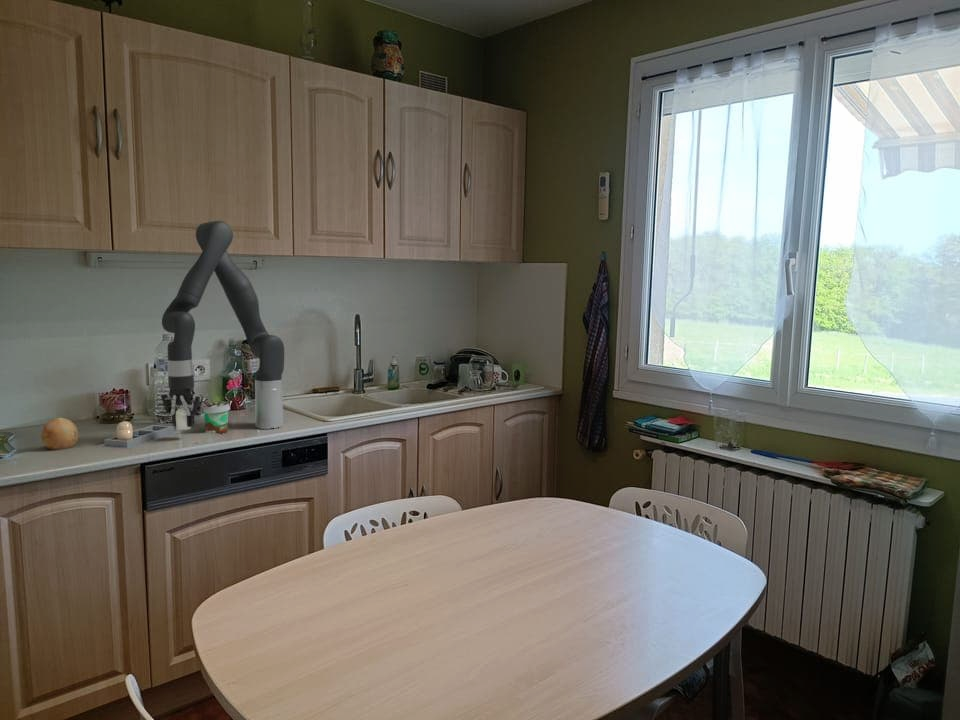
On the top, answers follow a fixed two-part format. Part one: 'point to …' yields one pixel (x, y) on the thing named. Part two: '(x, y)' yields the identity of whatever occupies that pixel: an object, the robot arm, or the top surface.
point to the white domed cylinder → (181, 419)
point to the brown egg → (124, 431)
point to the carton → (141, 437)
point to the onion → (59, 434)
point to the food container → (216, 417)
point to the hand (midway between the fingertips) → (183, 425)
